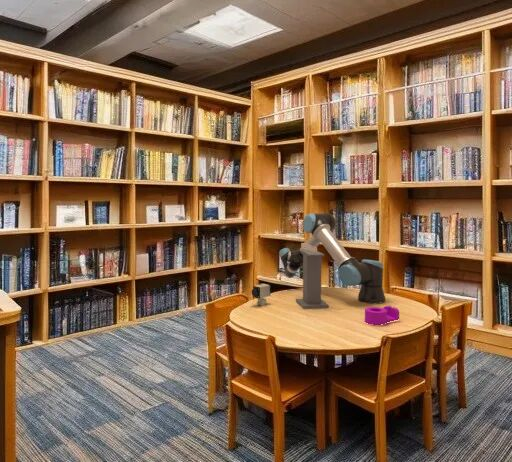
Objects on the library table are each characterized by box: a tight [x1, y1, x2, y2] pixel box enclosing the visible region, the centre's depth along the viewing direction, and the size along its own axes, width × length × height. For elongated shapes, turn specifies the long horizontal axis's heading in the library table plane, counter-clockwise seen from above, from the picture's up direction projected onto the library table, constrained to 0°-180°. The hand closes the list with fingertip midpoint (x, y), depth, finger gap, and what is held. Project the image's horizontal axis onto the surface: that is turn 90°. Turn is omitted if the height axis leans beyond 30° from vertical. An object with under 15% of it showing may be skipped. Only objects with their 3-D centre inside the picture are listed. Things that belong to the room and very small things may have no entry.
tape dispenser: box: [364, 305, 400, 326], centre depth 197 cm, size 16×10×6 cm, turn 118°
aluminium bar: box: [300, 242, 318, 253], centre depth 233 cm, size 22×3×3 cm, turn 8°
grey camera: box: [251, 283, 273, 307], centre depth 228 cm, size 6×12×12 cm, turn 135°
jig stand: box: [295, 250, 330, 310], centre depth 227 cm, size 18×14×29 cm
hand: (301, 253), depth 250 cm, fingers open, 13 cm apart
